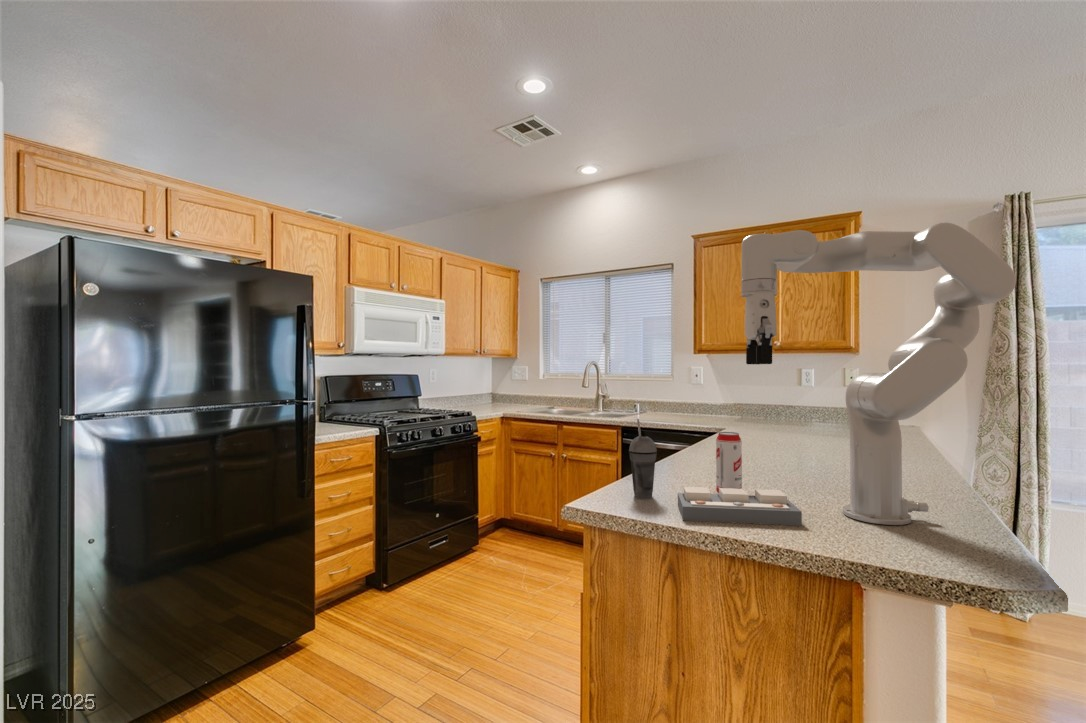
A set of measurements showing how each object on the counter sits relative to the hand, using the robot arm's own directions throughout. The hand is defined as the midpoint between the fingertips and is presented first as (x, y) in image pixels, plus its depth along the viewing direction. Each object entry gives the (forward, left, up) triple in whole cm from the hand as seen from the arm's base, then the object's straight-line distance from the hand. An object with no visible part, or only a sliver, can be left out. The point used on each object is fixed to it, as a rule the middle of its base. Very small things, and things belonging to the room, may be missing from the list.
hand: (758, 364), depth 114 cm
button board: (+6, +3, -34) cm, 34 cm away
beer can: (+4, -15, -34) cm, 37 cm away
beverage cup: (+26, -10, -34) cm, 44 cm away
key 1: (+14, +1, -32) cm, 35 cm away
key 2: (-2, +1, -32) cm, 32 cm away
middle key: (+6, +1, -32) cm, 33 cm away
